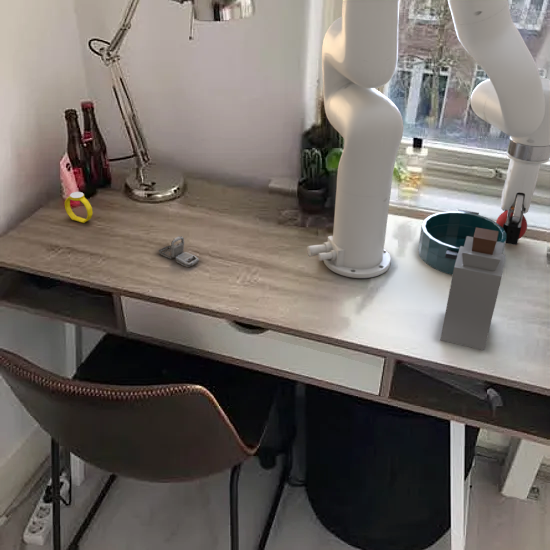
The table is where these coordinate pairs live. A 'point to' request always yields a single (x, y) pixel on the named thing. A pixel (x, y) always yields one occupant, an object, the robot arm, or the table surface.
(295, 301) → the table surface
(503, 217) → the onion
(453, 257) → the pot handles
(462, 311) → the perfume bottle
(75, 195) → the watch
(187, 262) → the strap clip
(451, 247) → the pot
